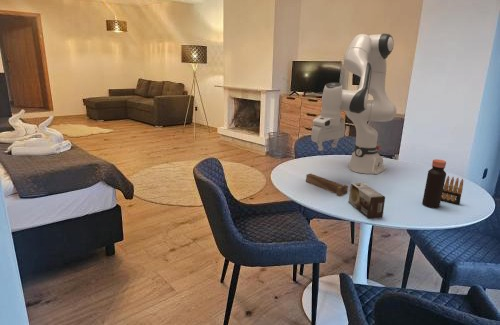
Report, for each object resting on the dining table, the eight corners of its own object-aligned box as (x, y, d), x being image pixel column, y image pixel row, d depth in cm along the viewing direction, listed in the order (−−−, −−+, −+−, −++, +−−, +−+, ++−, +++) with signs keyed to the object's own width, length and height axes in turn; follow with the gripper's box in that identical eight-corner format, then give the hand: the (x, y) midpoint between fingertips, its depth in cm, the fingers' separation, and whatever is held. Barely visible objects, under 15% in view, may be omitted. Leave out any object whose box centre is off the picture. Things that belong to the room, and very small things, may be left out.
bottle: (424, 200, 150) (432, 157, 145) (441, 205, 146) (450, 160, 141) (420, 205, 145) (428, 161, 140) (437, 210, 141) (447, 164, 135)
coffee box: (361, 201, 148) (382, 218, 133) (347, 202, 147) (367, 219, 132) (364, 181, 145) (386, 196, 130) (350, 182, 144) (371, 197, 129)
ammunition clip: (431, 199, 153) (437, 174, 149) (432, 197, 154) (437, 172, 151) (459, 205, 147) (465, 179, 143) (459, 204, 148) (465, 178, 144)
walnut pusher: (311, 180, 172) (312, 172, 171) (347, 193, 156) (348, 185, 155) (303, 182, 169) (304, 175, 168) (339, 196, 153) (340, 188, 152)
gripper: (338, 116, 162) (335, 144, 166) (309, 120, 150) (307, 150, 154) (349, 118, 157) (346, 146, 162) (321, 123, 145) (318, 154, 150)
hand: (327, 148), depth 158 cm, fingers open, 8 cm apart
